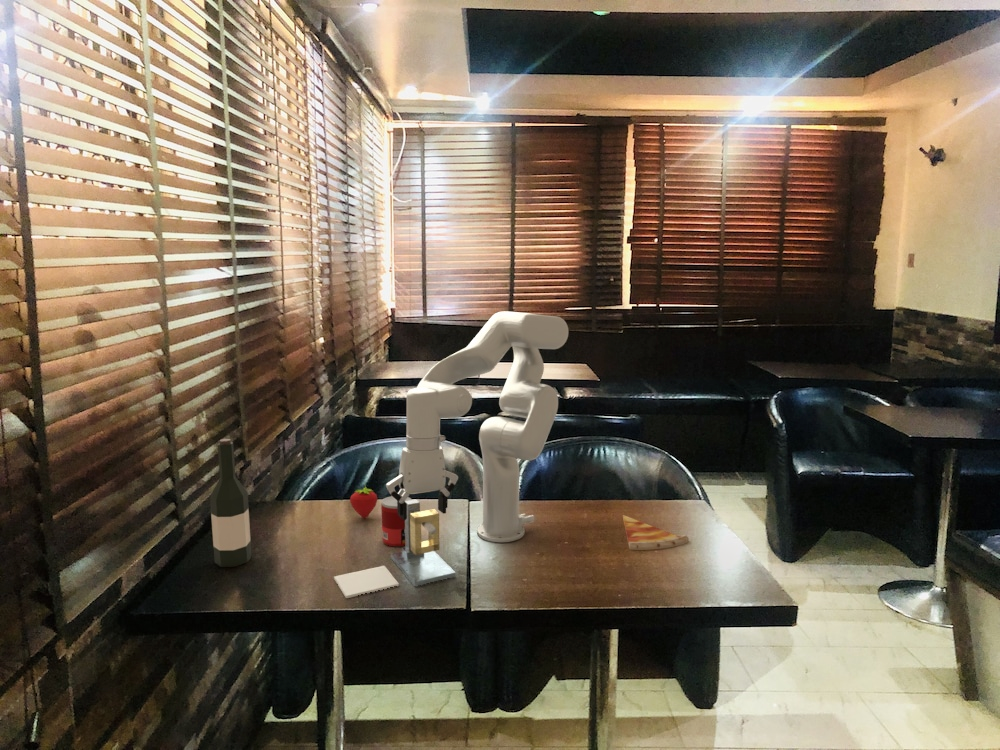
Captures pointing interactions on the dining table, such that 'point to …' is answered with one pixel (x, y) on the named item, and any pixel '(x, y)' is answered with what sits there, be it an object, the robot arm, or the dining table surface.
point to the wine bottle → (229, 513)
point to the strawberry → (363, 501)
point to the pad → (365, 581)
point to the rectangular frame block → (415, 531)
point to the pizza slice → (649, 536)
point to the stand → (420, 556)
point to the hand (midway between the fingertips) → (422, 514)
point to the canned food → (392, 523)
